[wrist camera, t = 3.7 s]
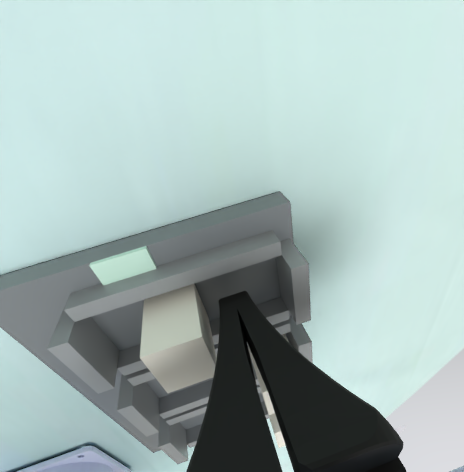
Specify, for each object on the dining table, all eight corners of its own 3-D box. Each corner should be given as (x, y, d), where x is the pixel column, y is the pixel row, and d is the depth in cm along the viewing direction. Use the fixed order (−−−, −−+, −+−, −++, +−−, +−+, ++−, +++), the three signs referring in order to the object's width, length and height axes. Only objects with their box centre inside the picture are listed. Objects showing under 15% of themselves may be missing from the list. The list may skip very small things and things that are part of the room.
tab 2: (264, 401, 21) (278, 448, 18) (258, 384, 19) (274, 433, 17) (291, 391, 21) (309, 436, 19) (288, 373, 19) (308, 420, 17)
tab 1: (166, 332, 14) (167, 393, 11) (144, 295, 12) (139, 357, 9) (208, 318, 14) (219, 374, 11) (192, 280, 12) (201, 336, 10)
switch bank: (153, 436, 23) (152, 483, 20) (-16, 280, 11) (-69, 343, 9) (299, 382, 24) (316, 421, 21) (280, 191, 12) (311, 223, 10)
